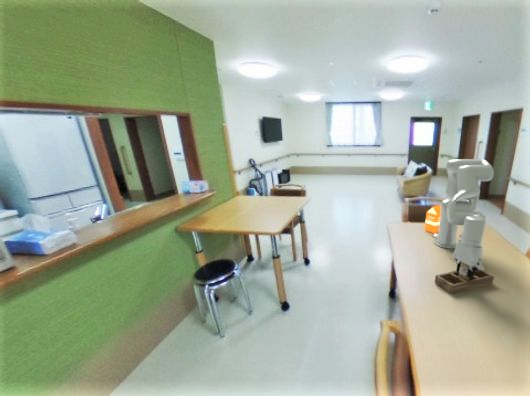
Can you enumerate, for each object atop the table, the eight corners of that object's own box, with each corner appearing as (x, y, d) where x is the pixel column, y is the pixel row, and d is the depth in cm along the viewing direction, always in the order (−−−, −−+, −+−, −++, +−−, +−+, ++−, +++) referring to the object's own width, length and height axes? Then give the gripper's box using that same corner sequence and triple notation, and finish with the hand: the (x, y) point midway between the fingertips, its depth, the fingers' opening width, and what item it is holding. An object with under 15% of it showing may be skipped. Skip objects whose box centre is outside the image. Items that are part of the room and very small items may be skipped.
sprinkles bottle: (457, 279, 116) (461, 256, 113) (457, 275, 120) (462, 252, 116) (469, 283, 114) (474, 259, 110) (469, 278, 117) (474, 255, 113)
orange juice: (424, 229, 178) (427, 205, 173) (432, 227, 181) (435, 203, 175) (434, 233, 171) (438, 208, 166) (442, 230, 174) (446, 205, 168)
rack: (434, 282, 119) (435, 275, 118) (472, 273, 124) (474, 266, 123) (451, 294, 111) (453, 286, 109) (492, 283, 115) (493, 275, 114)
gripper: (447, 235, 118) (442, 266, 123) (484, 250, 102) (476, 285, 107) (459, 232, 119) (454, 263, 125) (497, 247, 104) (489, 282, 109)
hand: (464, 273), depth 116 cm, fingers closed on sprinkles bottle, 4 cm apart
